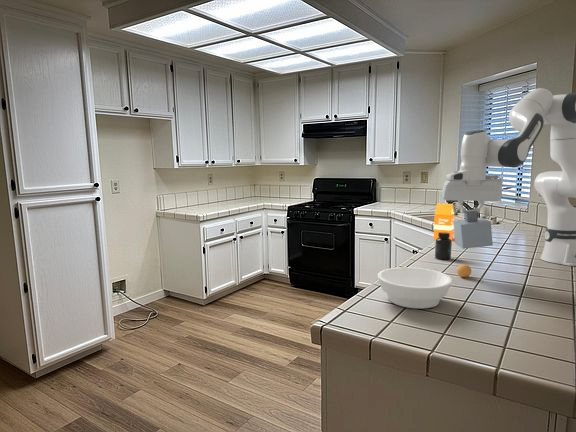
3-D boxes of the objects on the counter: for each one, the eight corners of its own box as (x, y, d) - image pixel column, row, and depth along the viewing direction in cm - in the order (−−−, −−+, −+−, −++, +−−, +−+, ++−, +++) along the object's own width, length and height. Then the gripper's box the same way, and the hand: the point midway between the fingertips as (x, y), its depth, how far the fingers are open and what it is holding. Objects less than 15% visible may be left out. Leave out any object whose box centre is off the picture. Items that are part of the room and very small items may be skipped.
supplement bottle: (452, 260, 176) (453, 234, 174) (436, 260, 177) (437, 233, 176) (449, 257, 183) (450, 231, 181) (433, 256, 184) (434, 231, 182)
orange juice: (437, 237, 229) (438, 203, 226) (453, 238, 224) (455, 203, 221) (433, 239, 223) (434, 204, 220) (449, 241, 217) (451, 205, 215)
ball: (457, 277, 154) (469, 272, 153) (462, 281, 149) (475, 276, 149) (453, 265, 153) (465, 260, 153) (458, 269, 148) (471, 264, 148)
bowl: (443, 321, 111) (444, 292, 110) (366, 306, 123) (367, 280, 121) (457, 297, 130) (458, 272, 129) (389, 286, 142) (390, 263, 140)
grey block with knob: (482, 240, 152) (479, 207, 151) (492, 245, 142) (489, 210, 141) (455, 243, 154) (452, 210, 152) (463, 248, 144) (459, 214, 142)
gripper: (499, 175, 147) (496, 212, 148) (441, 174, 149) (439, 211, 151) (506, 175, 140) (503, 214, 142) (446, 175, 143) (444, 213, 145)
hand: (470, 212), depth 147 cm, fingers closed on grey block with knob, 4 cm apart
